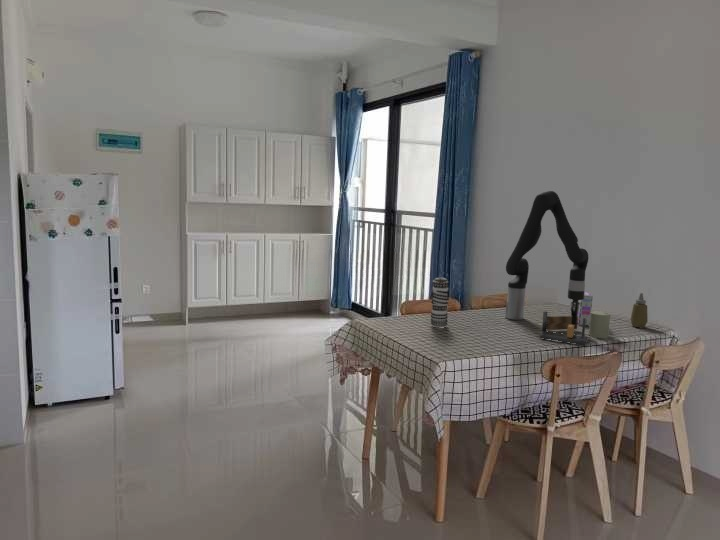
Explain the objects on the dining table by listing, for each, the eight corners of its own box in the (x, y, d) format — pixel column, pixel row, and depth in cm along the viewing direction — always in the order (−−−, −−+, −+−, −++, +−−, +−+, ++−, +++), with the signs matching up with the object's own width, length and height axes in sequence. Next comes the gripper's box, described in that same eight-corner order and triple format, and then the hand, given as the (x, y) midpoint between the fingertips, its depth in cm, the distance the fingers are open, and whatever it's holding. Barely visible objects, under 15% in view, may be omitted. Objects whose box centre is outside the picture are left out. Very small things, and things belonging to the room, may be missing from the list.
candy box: (590, 326, 294) (593, 295, 292) (578, 325, 295) (581, 295, 293) (585, 320, 308) (587, 291, 305) (574, 319, 309) (576, 290, 306)
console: (540, 339, 267) (540, 335, 267) (543, 335, 275) (543, 331, 275) (584, 345, 258) (585, 341, 258) (586, 341, 266) (587, 336, 266)
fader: (566, 337, 263) (567, 326, 262) (568, 334, 267) (569, 324, 267) (572, 337, 262) (573, 327, 261) (573, 335, 266) (574, 324, 266)
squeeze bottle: (646, 326, 298) (649, 292, 295) (647, 329, 290) (650, 295, 288) (629, 324, 301) (632, 291, 298) (629, 327, 294) (633, 293, 291)
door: (548, 330, 281) (549, 317, 280) (546, 329, 283) (547, 316, 282) (578, 329, 284) (579, 316, 283) (575, 328, 286) (576, 315, 285)
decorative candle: (451, 326, 288) (453, 278, 285) (441, 329, 282) (443, 280, 278) (436, 323, 295) (438, 276, 291) (426, 326, 288) (428, 278, 284)
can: (607, 339, 270) (609, 315, 268) (586, 336, 274) (588, 312, 273) (610, 335, 277) (612, 311, 276) (590, 332, 282) (592, 309, 280)
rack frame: (541, 331, 282) (543, 311, 281) (542, 330, 284) (543, 311, 283) (583, 336, 273) (585, 316, 272) (584, 335, 275) (585, 315, 274)
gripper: (583, 292, 267) (580, 327, 270) (585, 287, 279) (583, 322, 282) (566, 290, 271) (564, 325, 273) (569, 286, 282) (567, 320, 285)
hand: (573, 323), depth 277 cm, fingers closed
